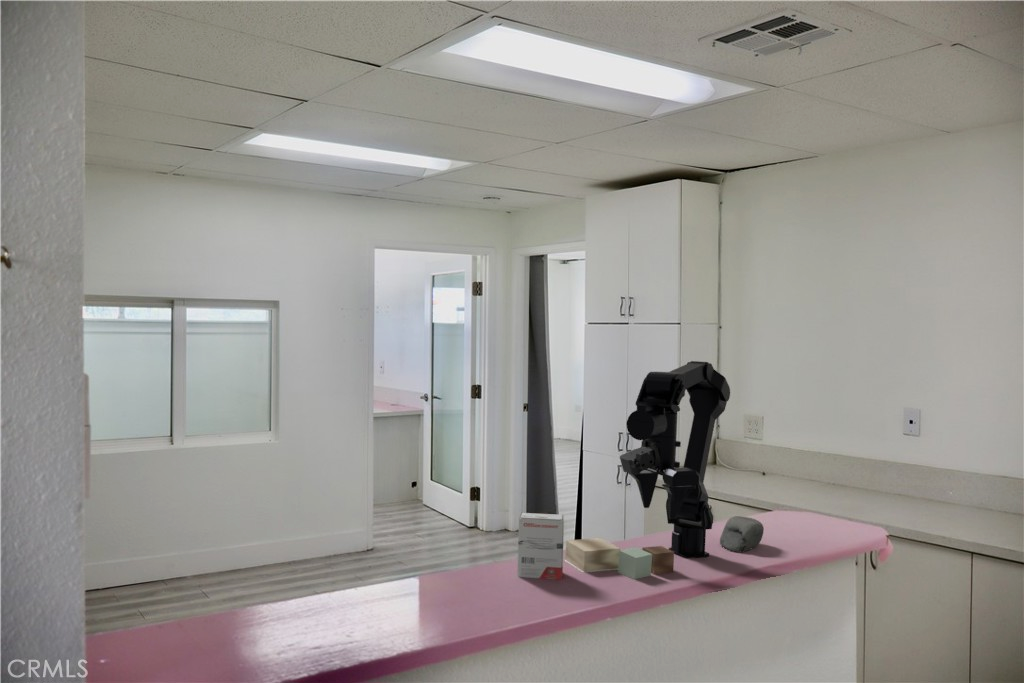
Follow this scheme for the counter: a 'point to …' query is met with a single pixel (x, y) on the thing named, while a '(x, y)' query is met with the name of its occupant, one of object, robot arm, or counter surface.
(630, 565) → the sage block
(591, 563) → the birch base block
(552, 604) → the counter surface
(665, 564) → the walnut cube
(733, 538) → the stone
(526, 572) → the ink box
